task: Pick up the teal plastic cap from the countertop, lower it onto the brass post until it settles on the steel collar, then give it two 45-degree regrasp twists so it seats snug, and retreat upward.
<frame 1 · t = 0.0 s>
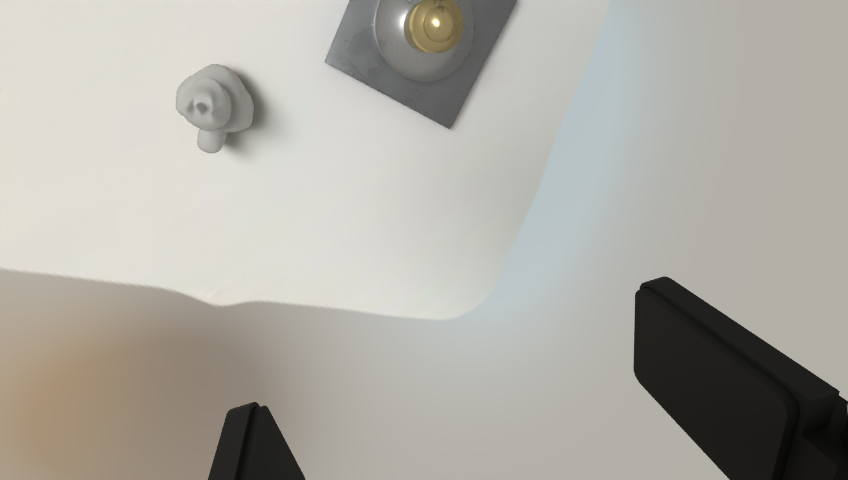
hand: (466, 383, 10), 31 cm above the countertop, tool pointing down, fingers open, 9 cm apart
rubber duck: (223, 105, 35), on the countertop
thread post: (420, 29, 35), on the countertop
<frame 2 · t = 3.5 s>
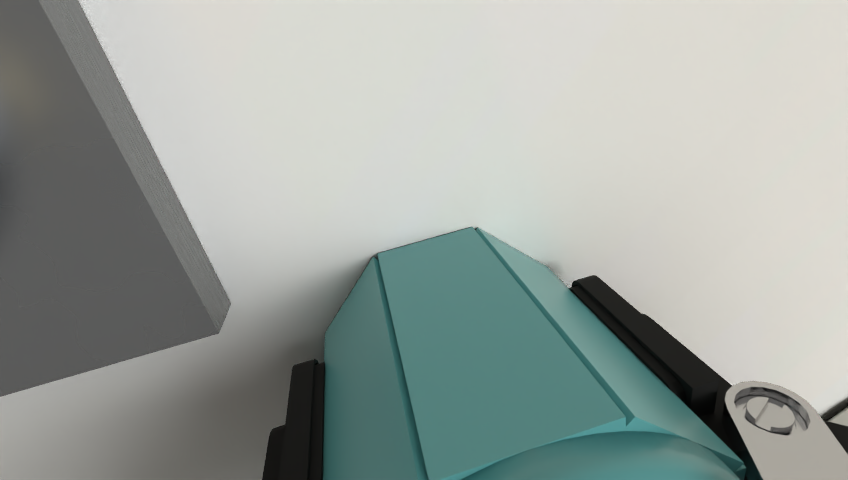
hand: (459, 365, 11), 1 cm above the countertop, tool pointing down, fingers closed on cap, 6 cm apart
cap: (448, 338, 12), on the countertop, touching gripper
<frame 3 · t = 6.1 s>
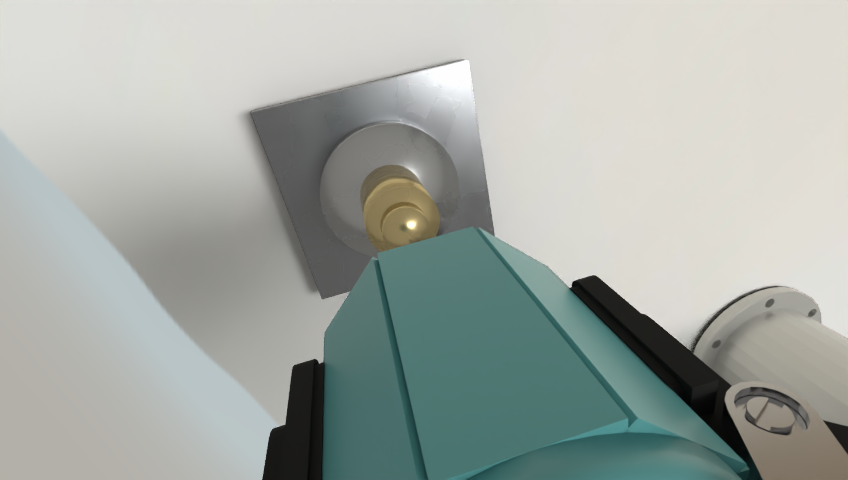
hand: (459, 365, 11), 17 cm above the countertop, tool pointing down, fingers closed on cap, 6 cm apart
cap: (448, 338, 12), point 16 cm above the countertop, touching gripper
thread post: (386, 183, 26), on the countertop
when the fingers open (4 cm above the countertop, at t = 8.8 s): cap stays where it is, resting on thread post.
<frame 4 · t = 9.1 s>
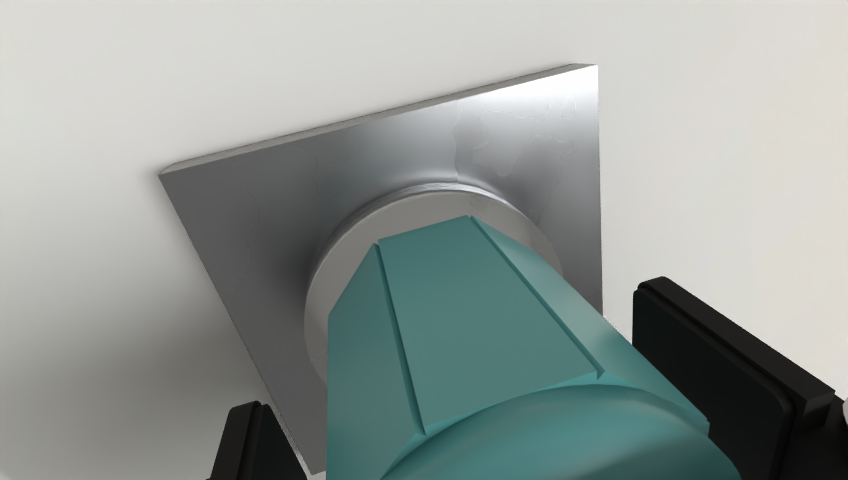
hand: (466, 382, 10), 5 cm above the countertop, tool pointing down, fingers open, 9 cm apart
cap: (444, 321, 13), point 2 cm above the countertop, touching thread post
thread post: (425, 282, 15), on the countertop
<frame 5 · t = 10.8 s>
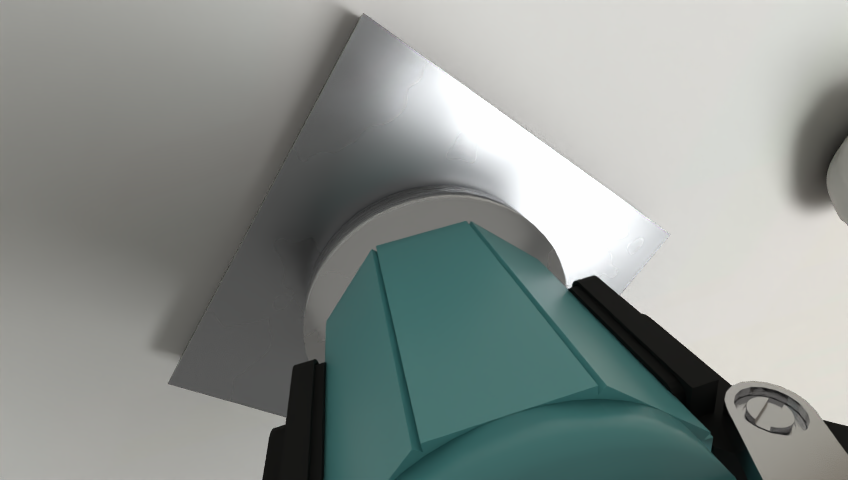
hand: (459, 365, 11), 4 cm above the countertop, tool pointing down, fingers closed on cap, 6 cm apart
cap: (443, 327, 12), point 2 cm above the countertop, touching gripper, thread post
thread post: (426, 286, 15), on the countertop
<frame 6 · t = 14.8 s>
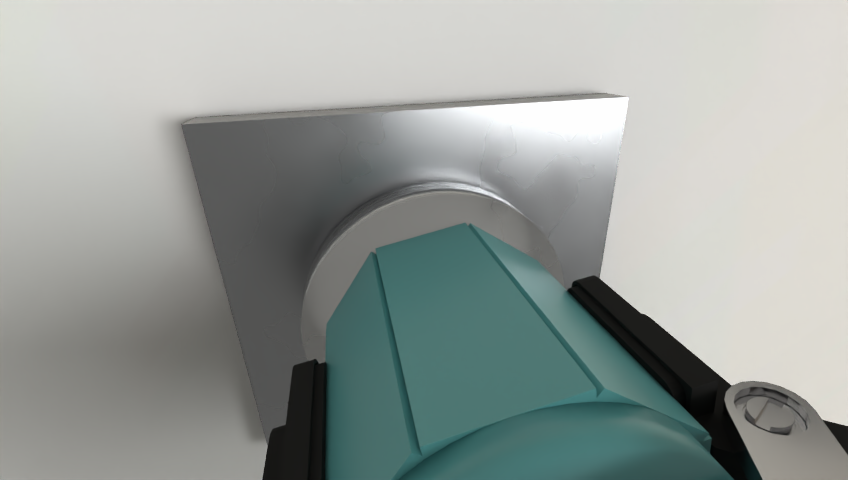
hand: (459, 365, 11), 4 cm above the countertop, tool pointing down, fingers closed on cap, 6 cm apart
cap: (443, 329, 13), point 2 cm above the countertop, touching gripper
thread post: (424, 283, 15), on the countertop
when the fingers open (4 cm above the countertop, at t = 15.4 s): cap stays where it is, resting on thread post.
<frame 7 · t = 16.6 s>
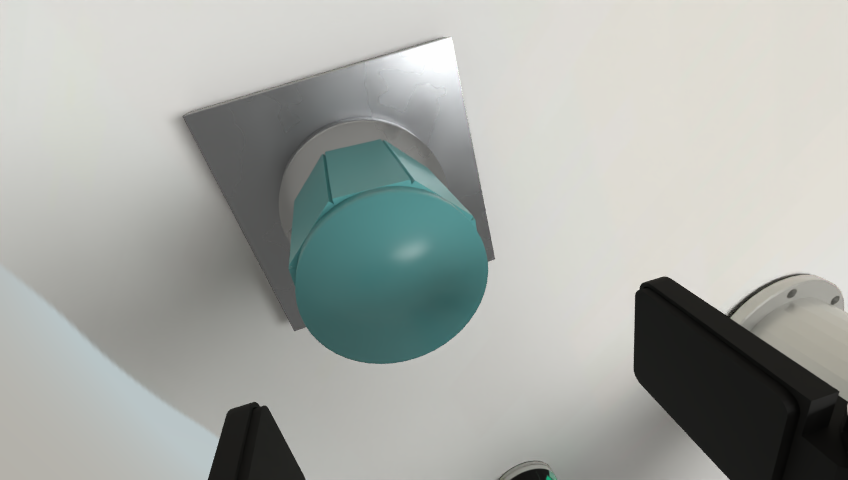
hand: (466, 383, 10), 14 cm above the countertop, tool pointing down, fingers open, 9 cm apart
cap: (369, 210, 20), point 2 cm above the countertop, touching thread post
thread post: (362, 191, 22), on the countertop
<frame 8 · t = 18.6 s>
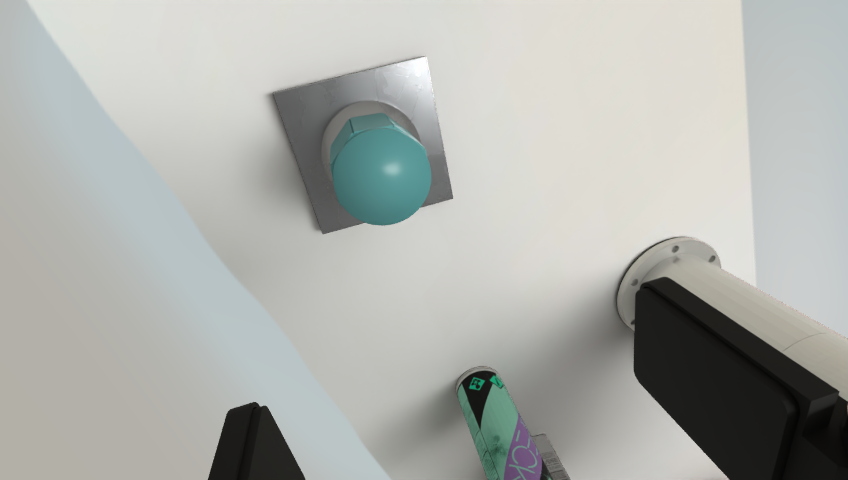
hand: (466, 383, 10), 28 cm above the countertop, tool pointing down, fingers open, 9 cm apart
coffee box: (522, 459, 57), on the countertop
cap: (373, 155, 33), point 2 cm above the countertop, touching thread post
spray can: (477, 383, 49), on the countertop
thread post: (370, 147, 36), on the countertop
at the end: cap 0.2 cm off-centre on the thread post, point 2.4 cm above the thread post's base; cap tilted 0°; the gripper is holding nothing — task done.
